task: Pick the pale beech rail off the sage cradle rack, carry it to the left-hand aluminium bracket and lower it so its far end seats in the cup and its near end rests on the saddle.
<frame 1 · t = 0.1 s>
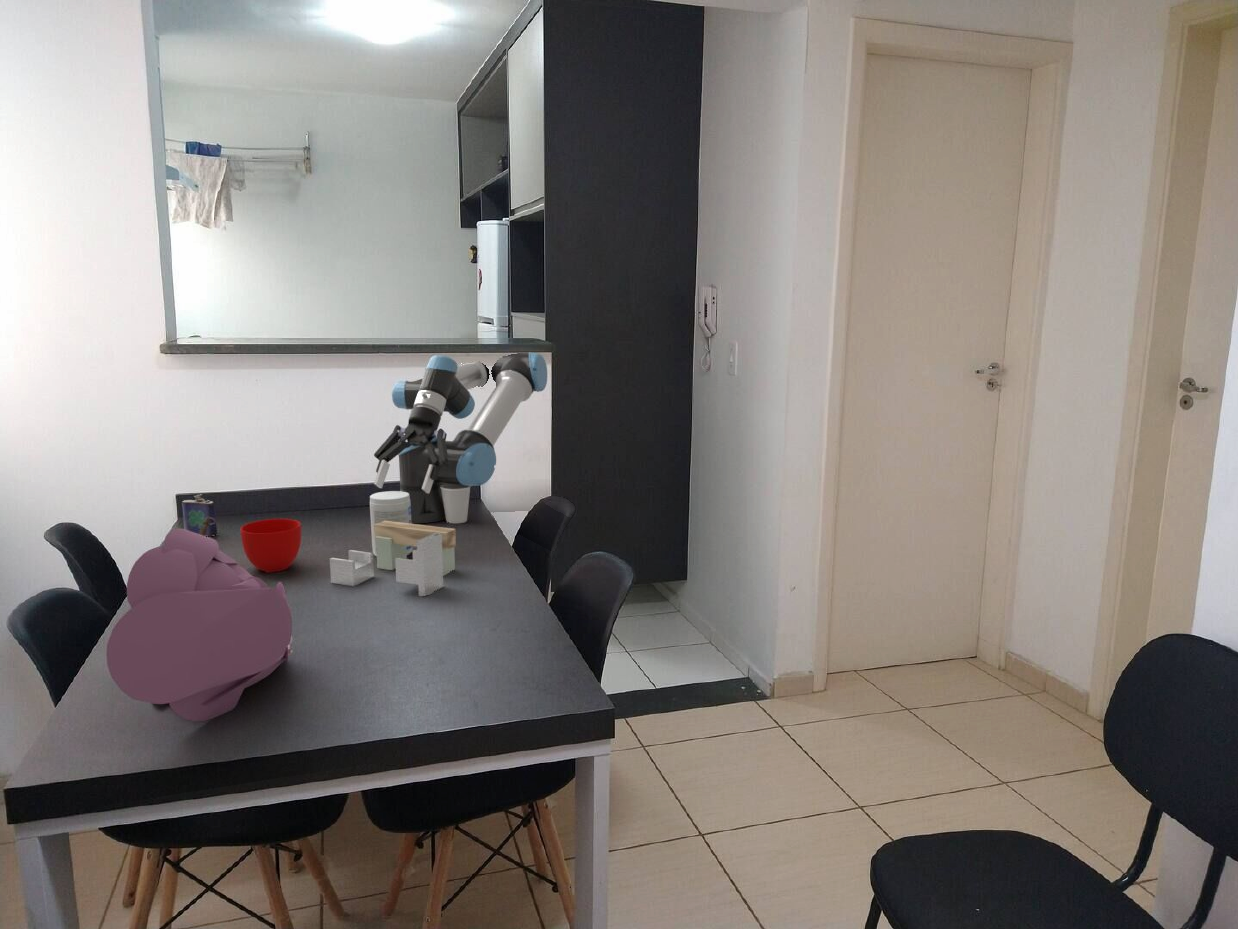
hand: (401, 488, 219), 15 cm above the table, tool tilted 35°, fingers open, 13 cm apart
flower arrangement: (217, 688, 146), on the table
ceramic cup: (277, 566, 209), on the table
flask: (201, 535, 234), on the table
rack: (416, 568, 207), on the table
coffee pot: (200, 599, 187), on the table
rail: (415, 543, 206), point 6 cm above the table, touching rack
bracket rig: (385, 584, 196), on the table
supplement tub: (392, 554, 219), on the table
dixie cup: (456, 521, 250), on the table
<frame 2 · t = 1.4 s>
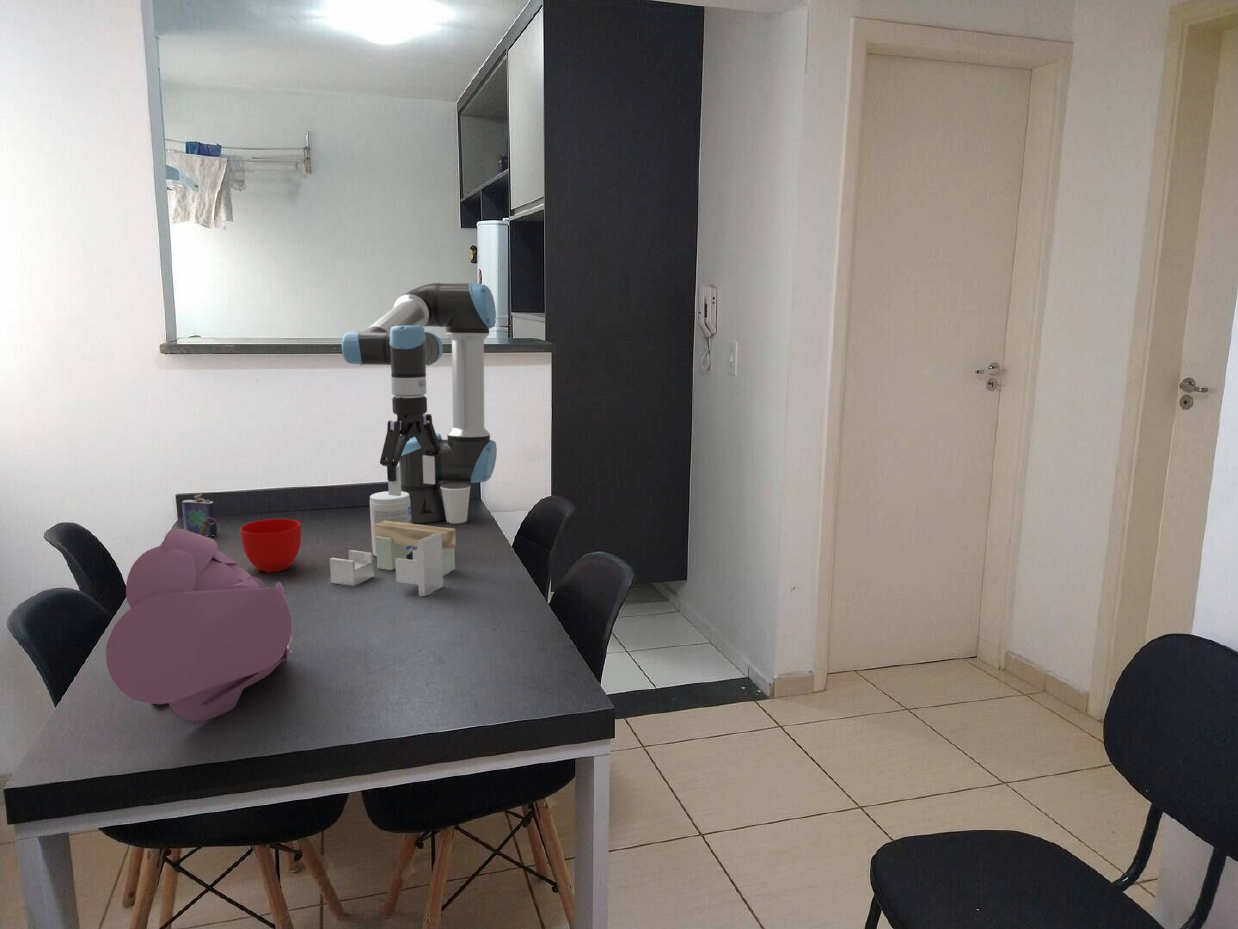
hand: (412, 489, 204), 19 cm above the table, tool pointing down, fingers open, 13 cm apart
nothing on the table moved.
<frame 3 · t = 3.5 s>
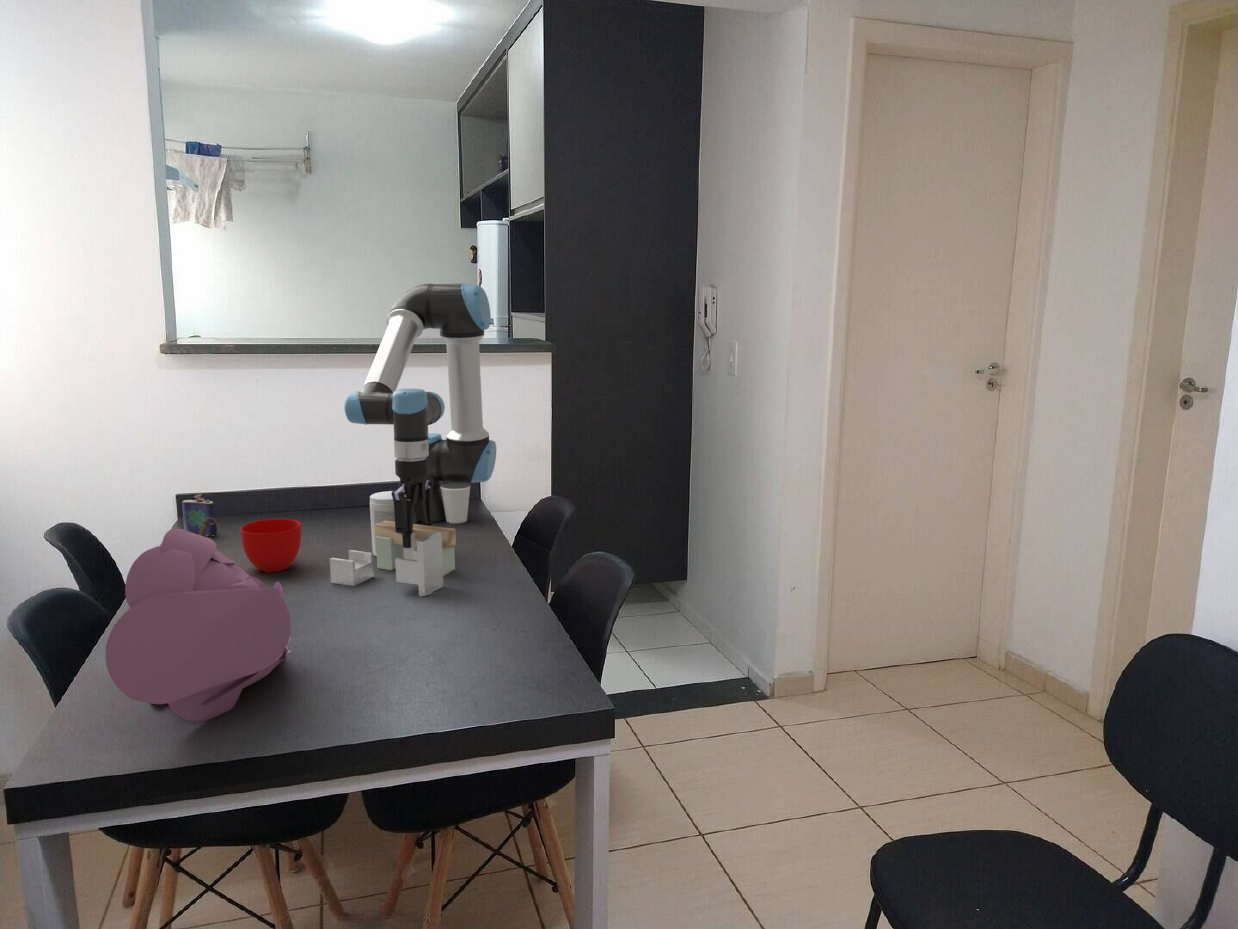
hand: (415, 557, 207), 3 cm above the table, tool pointing down, fingers closed on rail, 4 cm apart
rail: (415, 543, 206), point 6 cm above the table, touching gripper, rack
everything else where it was.
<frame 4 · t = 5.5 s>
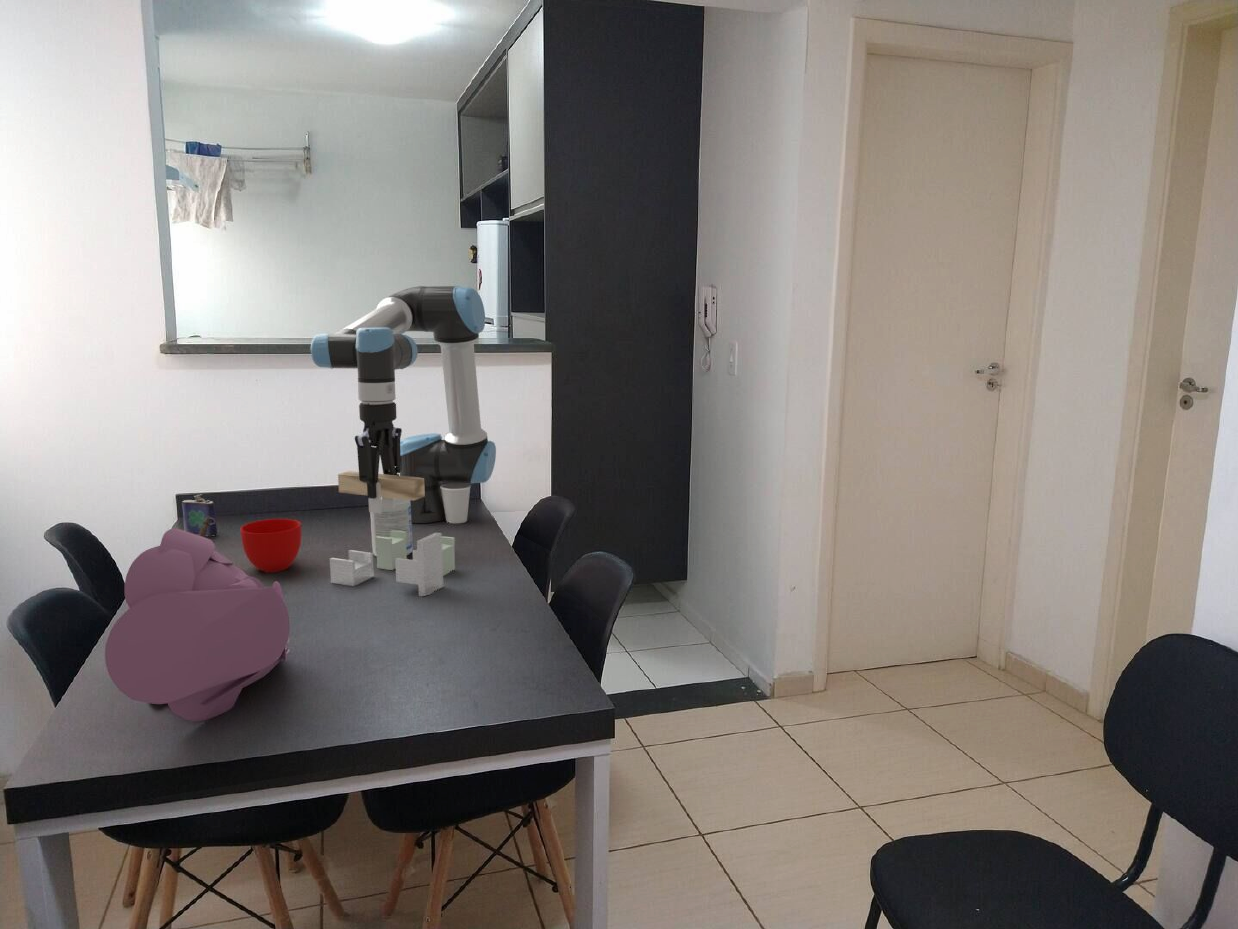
hand: (382, 509, 193), 17 cm above the table, tool pointing down, fingers closed on rail, 4 cm apart
rail: (381, 494, 192), point 20 cm above the table, touching gripper
everything else where it was.
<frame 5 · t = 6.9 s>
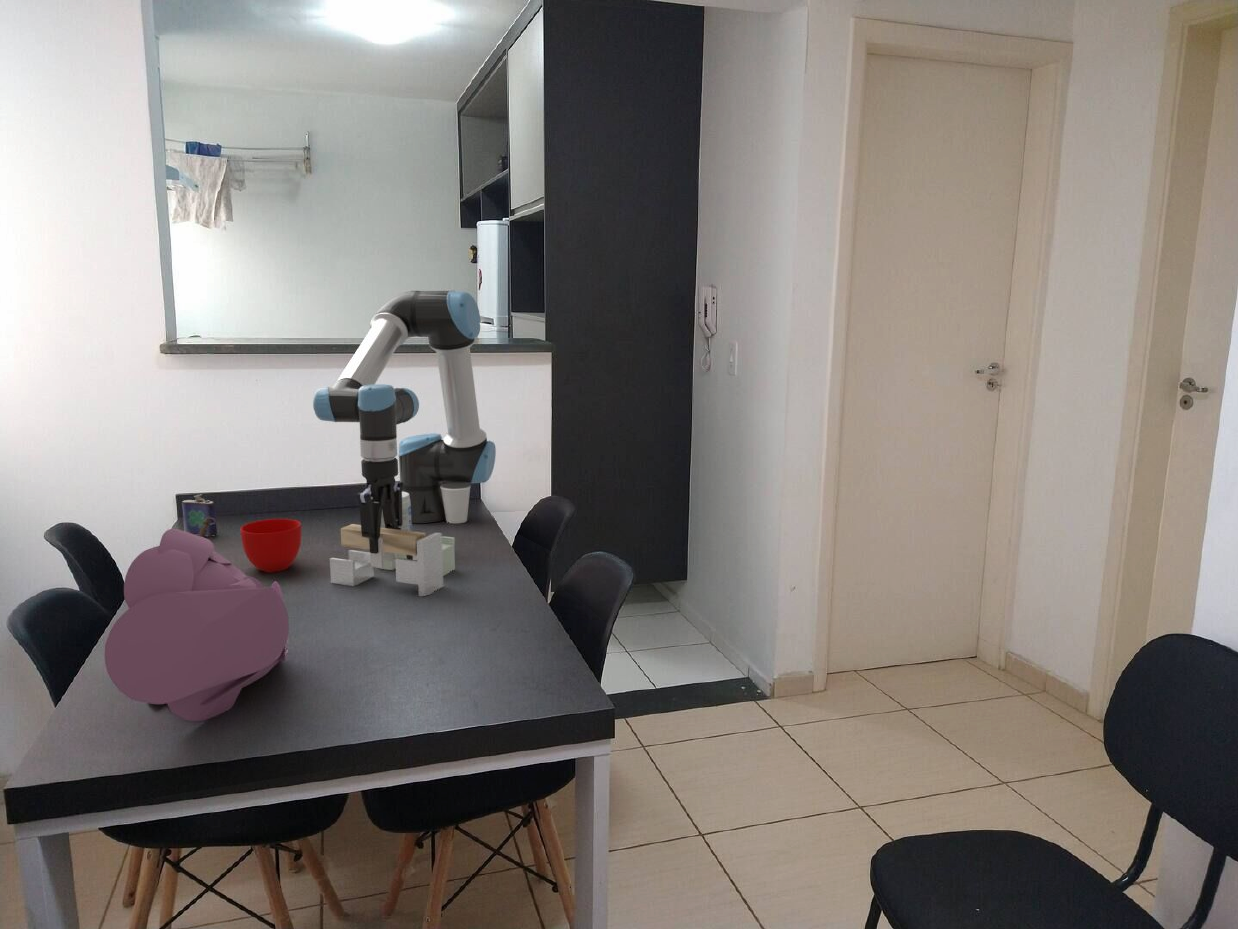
hand: (384, 563, 195), 5 cm above the table, tool pointing down, fingers closed on rail, 4 cm apart
rail: (383, 548, 195), point 8 cm above the table, touching gripper
everything else where it was.
when the fingers open (1 cm above the table, at t = 7.8 s): rail drops 1 cm, resting on bracket rig.
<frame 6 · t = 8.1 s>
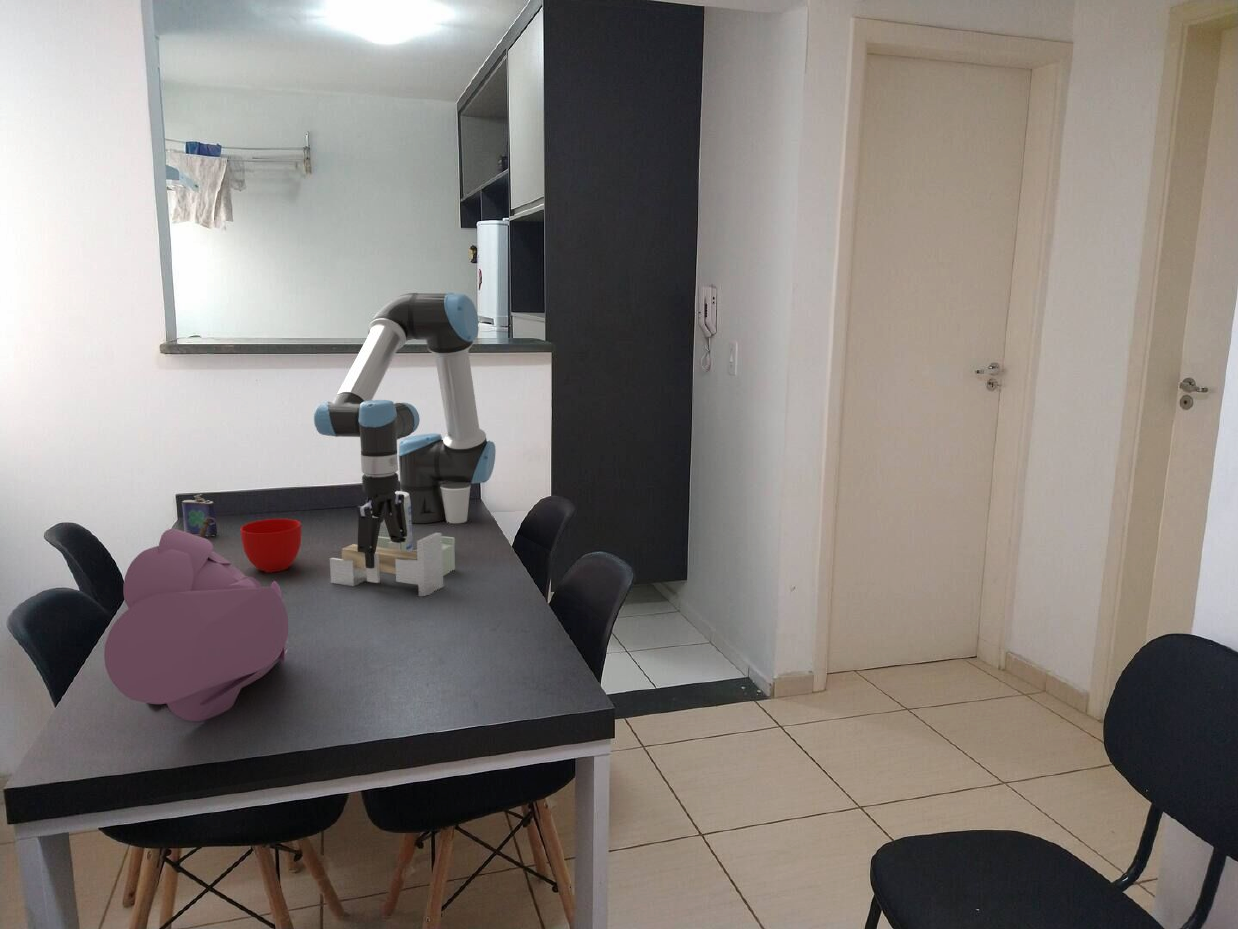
hand: (384, 576, 196), 2 cm above the table, tool pointing down, fingers open, 7 cm apart
rail: (384, 569, 196), point 3 cm above the table, touching bracket rig
everything else where it was.
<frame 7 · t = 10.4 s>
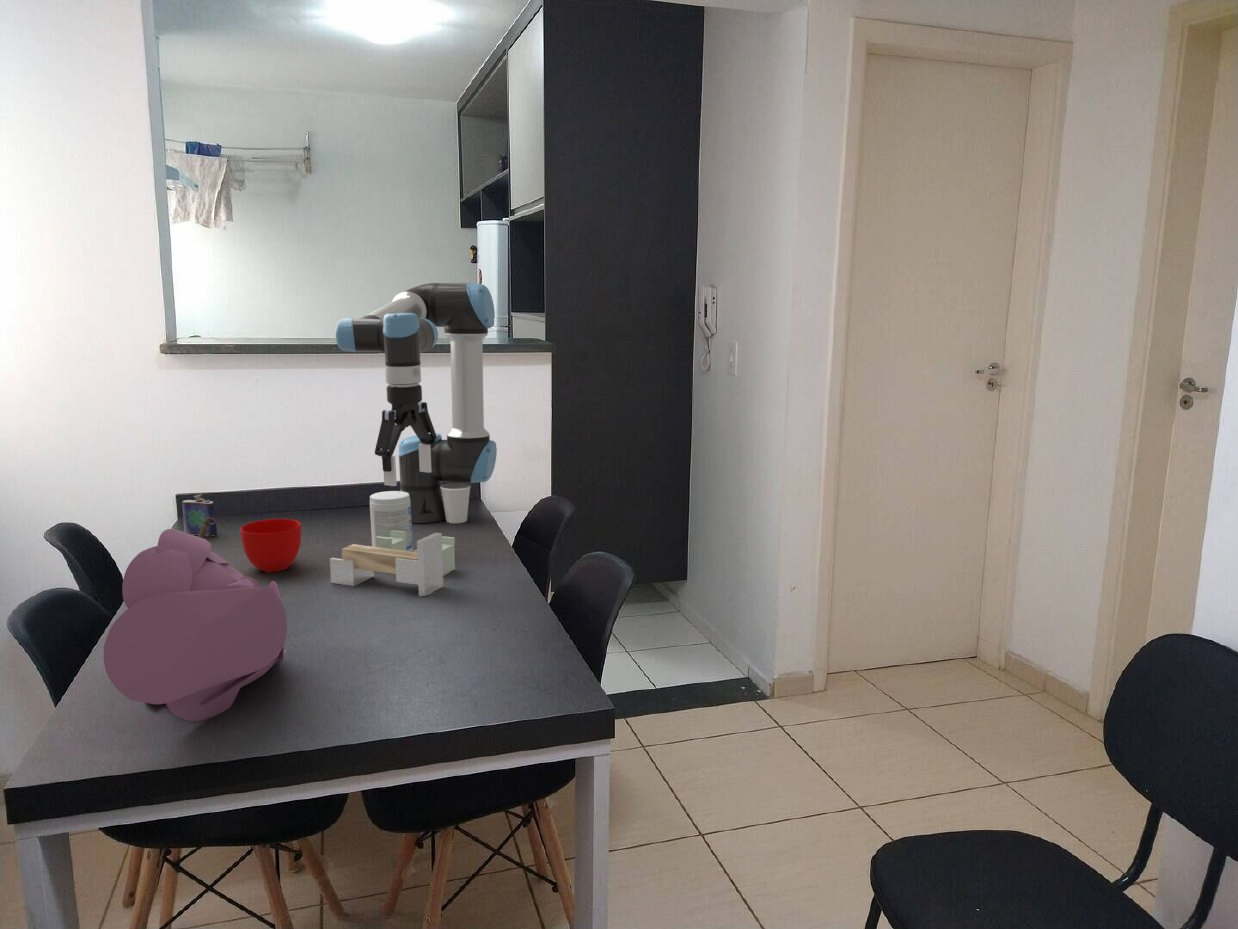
hand: (408, 478, 202), 22 cm above the table, tool pointing down, fingers open, 13 cm apart
nothing on the table moved.
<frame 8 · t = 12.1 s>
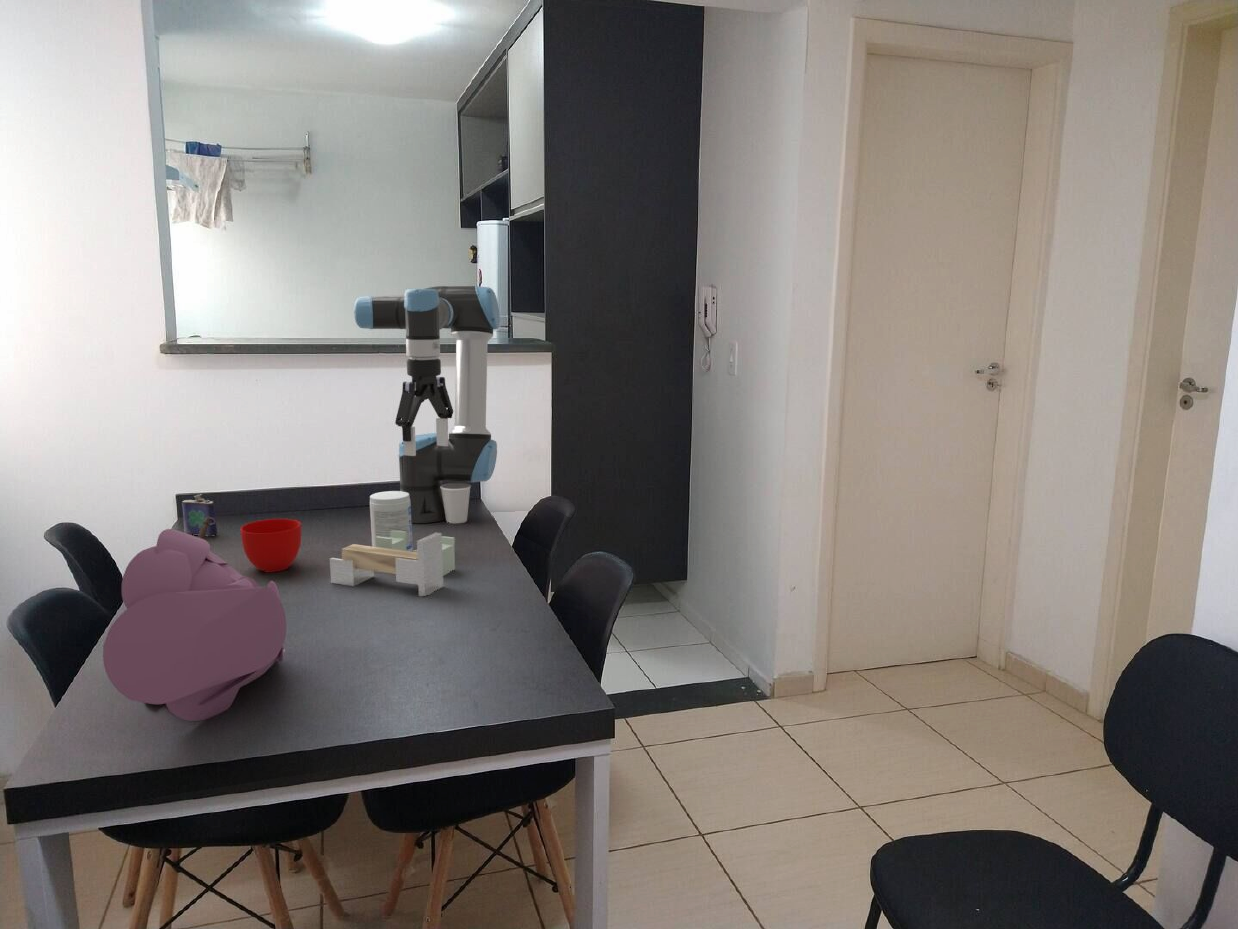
hand: (426, 450, 208), 27 cm above the table, tool pointing down, fingers open, 13 cm apart
at the end: rail 0.0 cm off-centre on the bracket rig, point 3.5 cm above the bracket rig's base; rail tilted 0°; the gripper is holding nothing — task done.
